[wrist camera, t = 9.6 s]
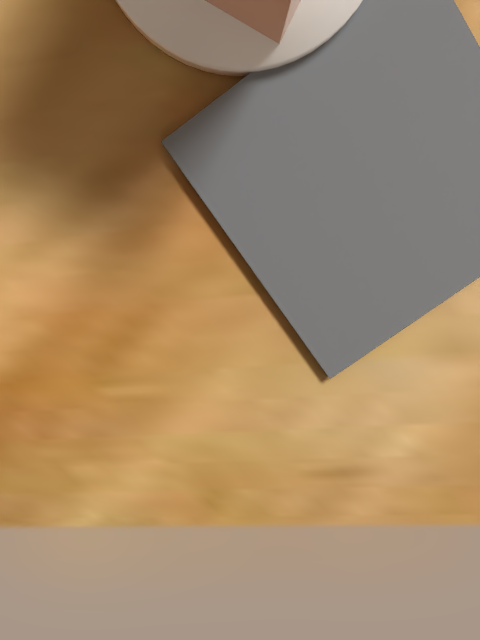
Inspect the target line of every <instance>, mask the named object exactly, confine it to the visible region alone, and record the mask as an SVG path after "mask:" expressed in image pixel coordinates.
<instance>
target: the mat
mask: <svg viewBox="0 0 480 640" xmlns="http://www.w3.org/2000/svg"><path fill="white" fill-rule="evenodd" d="M161 142H162V144H163V145H164V147H165V148H166V150H167V151H168V152H169V154H170V155H171V157H172V158H173V159H174V161H175V162H176V164H177V165H178V166H179V168H180V169H181V171H182V172H183V173H184V175H185V176H186V178H187V179H188V180H189V182H190V183H191V185H192V186H193V187H194V189H195V190H196V192H197V193H198V194H199V196H200V197H201V199H202V200H203V201H204V203H205V204H206V206H207V207H208V208H209V210H210V211H211V213H212V214H213V216H214V217H215V218H216V220H217V221H218V223H219V224H220V225H221V227H222V228H223V230H224V231H225V232H226V234H227V235H228V237H229V238H230V239H231V241H232V242H233V244H234V245H235V246H236V248H237V249H238V251H239V252H240V253H241V255H242V256H243V258H244V259H245V260H246V262H247V263H248V265H249V266H250V267H251V269H252V270H253V272H254V273H255V274H256V276H257V277H258V279H259V280H260V282H261V283H262V284H263V286H264V287H265V289H266V290H267V291H268V293H269V294H270V296H271V297H272V298H273V300H274V301H275V303H276V304H277V305H278V307H279V308H280V310H281V311H282V312H283V314H284V315H285V317H286V318H287V319H288V321H289V322H290V324H291V325H292V326H293V328H294V329H295V331H296V332H297V333H298V335H299V336H300V338H301V339H302V340H303V342H304V343H305V345H306V346H307V347H308V349H309V350H310V352H311V353H312V355H313V356H314V357H315V359H316V360H317V362H318V363H319V364H320V366H321V367H322V369H323V370H324V371H325V373H326V374H327V376H328V377H329V378H330V379H331V378H332V377H334V376H335V375H336V374H338V373H339V372H341V371H342V370H344V369H345V368H347V367H348V366H350V365H351V364H353V363H354V362H355V361H357V360H358V359H360V358H361V357H363V356H364V355H366V354H367V353H369V352H370V351H372V350H373V349H375V348H376V347H377V346H379V345H380V344H382V343H383V342H385V341H386V340H388V339H389V338H391V337H392V336H394V335H395V334H397V333H398V332H399V331H401V330H402V329H404V328H405V327H407V326H408V325H410V324H411V323H413V322H414V321H416V320H417V319H419V318H420V317H421V316H423V315H424V314H426V313H427V312H429V311H430V310H432V309H433V308H435V307H436V306H438V305H439V304H440V303H442V302H443V301H445V300H446V299H448V298H449V297H451V296H452V295H454V294H455V293H457V292H458V291H460V290H461V289H462V288H464V287H465V286H467V285H468V284H470V283H471V282H473V281H474V280H476V279H477V278H479V277H480V47H479V45H478V43H477V41H476V40H475V38H474V36H473V34H472V32H471V31H470V29H469V27H468V25H467V23H466V22H465V20H464V18H463V16H462V14H461V12H460V11H459V9H458V7H457V5H456V3H455V2H454V0H363V1H362V2H361V4H360V6H359V7H358V9H357V10H356V12H355V13H354V14H353V15H352V16H351V18H350V19H349V20H348V21H347V22H346V24H345V25H344V26H343V27H342V28H341V29H340V30H339V31H338V32H337V33H336V34H335V35H334V36H333V37H332V38H330V39H329V40H328V41H327V42H326V43H324V44H323V45H321V46H320V47H319V48H317V49H316V50H314V51H313V52H311V53H310V54H308V55H306V56H304V57H302V58H300V59H298V60H296V61H294V62H291V63H289V64H286V65H283V66H280V67H278V68H273V69H268V70H264V71H259V72H251V73H249V74H248V75H247V76H246V77H244V78H243V79H242V80H240V81H239V82H238V83H236V84H235V85H234V86H233V87H231V88H230V89H229V90H227V91H226V92H225V93H223V94H222V95H221V96H220V97H218V98H217V99H216V100H214V101H213V102H212V103H210V104H209V105H208V106H207V107H205V108H204V109H203V110H201V111H200V112H199V113H198V114H196V115H195V116H194V117H192V118H191V119H190V120H188V121H187V122H186V123H185V124H183V125H182V126H181V127H179V128H178V129H177V130H175V131H174V132H173V133H172V134H170V135H169V136H168V137H166V138H165V139H164V140H162V141H161Z"/></svg>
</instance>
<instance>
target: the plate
mask: <svg viewBox="0 0 480 640" xmlns="http://www.w3.org/2000/svg"><path fill="white" fill-rule="evenodd" d="M115 1H116V2H117V4H118V5H119V7H120V8H121V10H122V11H123V13H124V14H125V16H126V17H127V18H128V19H129V20H130V22H131V23H132V24H133V25H134V26H135V28H136V29H137V30H138V31H139V32H140V33H141V34H142V35H143V36H144V37H146V38H147V39H148V40H149V41H150V42H151V43H152V44H153V45H155V46H156V47H157V48H159V49H160V50H162V51H163V52H164V53H166V54H167V55H169V56H170V57H172V58H174V59H176V60H178V61H180V62H182V63H184V64H185V65H188V66H191V67H194V68H196V69H199V70H202V71H205V72H210V73H214V74H219V75H227V76H247V75H248V74H249V73H251V72H259V71H264V70H268V69H273V68H278V67H280V66H283V65H286V64H289V63H291V62H294V61H296V60H298V59H300V58H302V57H304V56H306V55H308V54H310V53H311V52H313V51H314V50H316V49H317V48H319V47H320V46H321V45H323V44H324V43H326V42H327V41H328V40H329V39H330V38H332V37H333V36H334V35H335V34H336V33H337V32H338V31H339V30H340V29H341V28H342V27H343V26H344V25H345V24H346V22H347V21H348V20H349V19H350V18H351V16H352V15H353V14H354V13H355V12H356V10H357V9H358V7H359V6H360V4H361V2H362V1H363V0H301V1H300V3H299V5H298V7H297V9H296V11H295V13H294V16H293V18H292V20H291V22H290V24H289V26H288V28H287V30H286V32H285V34H284V36H283V38H282V40H281V42H280V44H278V43H277V42H275V41H273V40H271V39H270V38H268V37H266V36H265V35H263V34H261V33H260V32H258V31H256V30H254V29H253V28H251V27H249V26H248V25H246V24H244V23H243V22H241V21H239V20H237V19H236V18H234V17H232V16H231V15H229V14H227V13H226V12H224V11H222V10H220V9H219V8H217V7H215V6H214V5H212V4H210V3H209V2H207V1H205V0H115Z"/></svg>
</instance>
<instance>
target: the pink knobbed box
mask: <svg viewBox="0 0 480 640" xmlns="http://www.w3.org/2000/svg"><path fill="white" fill-rule="evenodd" d="M205 1H207V2H209V3H210V4H212V5H214V6H215V7H217V8H219V9H220V10H222V11H224V12H226V13H227V14H229V15H231V16H232V17H234V18H236V19H237V20H239V21H241V22H243V23H244V24H246V25H248V26H249V27H251V28H253V29H254V30H256V31H258V32H260V33H261V34H263V35H265V36H266V37H268V38H270V39H271V40H273V41H275V42H277V43H278V44H280V42H281V40H282V38H283V36H284V34H285V32H286V30H287V28H288V26H289V24H290V22H291V20H292V18H293V16H294V13H295V11H296V9H297V7H298V5H299V3H300V1H301V0H205Z"/></svg>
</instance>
